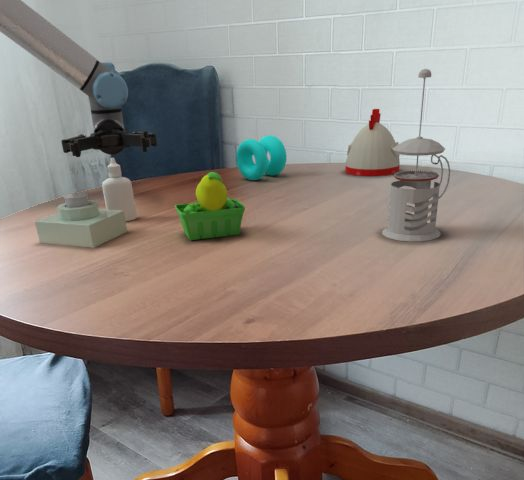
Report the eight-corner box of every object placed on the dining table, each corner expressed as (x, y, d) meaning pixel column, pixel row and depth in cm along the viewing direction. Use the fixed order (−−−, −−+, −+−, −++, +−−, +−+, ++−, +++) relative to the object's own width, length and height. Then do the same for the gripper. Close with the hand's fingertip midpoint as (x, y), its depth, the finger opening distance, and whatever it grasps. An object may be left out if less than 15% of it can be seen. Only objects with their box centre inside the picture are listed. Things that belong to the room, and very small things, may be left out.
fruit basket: (236, 224, 102) (232, 162, 97) (250, 237, 94) (246, 170, 89) (177, 232, 99) (169, 169, 94) (185, 246, 92) (177, 177, 86)
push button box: (39, 242, 98) (31, 209, 95) (76, 227, 106) (69, 196, 103) (93, 248, 93) (86, 213, 90) (127, 231, 101) (121, 199, 98)
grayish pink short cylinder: (61, 209, 96) (59, 197, 95) (76, 203, 99) (74, 192, 98) (79, 210, 94) (77, 198, 93) (94, 204, 98) (91, 193, 97)
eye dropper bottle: (113, 217, 111) (103, 156, 106) (139, 217, 111) (130, 155, 105) (105, 223, 108) (93, 160, 102) (132, 223, 107) (122, 159, 101)
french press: (370, 231, 94) (378, 70, 82) (420, 220, 99) (435, 66, 87) (408, 245, 87) (423, 70, 75) (461, 232, 91) (483, 66, 79)
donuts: (289, 176, 141) (288, 135, 136) (262, 183, 135) (260, 140, 130) (262, 172, 147) (260, 133, 142) (235, 179, 141) (232, 138, 136)
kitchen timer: (404, 167, 145) (408, 106, 138) (392, 177, 134) (396, 111, 127) (353, 165, 150) (355, 106, 143) (338, 175, 139) (340, 112, 132)
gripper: (164, 148, 134) (173, 161, 116) (59, 156, 129) (51, 171, 111) (160, 115, 130) (169, 123, 112) (52, 122, 125) (43, 132, 107)
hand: (110, 147), depth 111 cm, fingers open, 13 cm apart
